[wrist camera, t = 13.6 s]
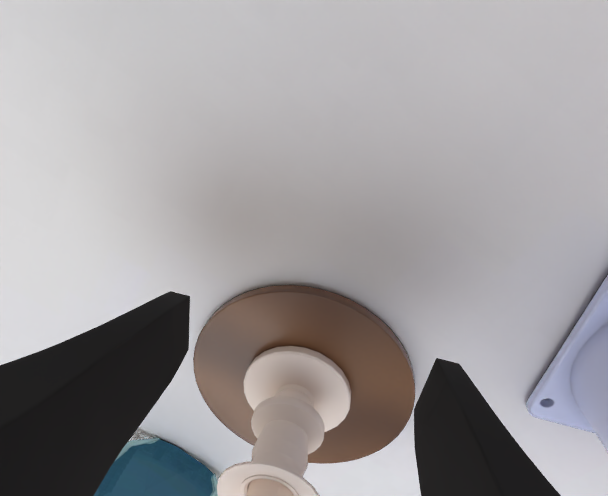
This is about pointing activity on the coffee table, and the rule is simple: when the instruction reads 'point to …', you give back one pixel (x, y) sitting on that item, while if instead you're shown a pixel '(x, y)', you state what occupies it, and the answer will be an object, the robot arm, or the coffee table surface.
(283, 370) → the candle
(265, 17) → the coffee table surface
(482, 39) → the coffee table surface
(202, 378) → the coaster
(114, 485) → the sunglasses
